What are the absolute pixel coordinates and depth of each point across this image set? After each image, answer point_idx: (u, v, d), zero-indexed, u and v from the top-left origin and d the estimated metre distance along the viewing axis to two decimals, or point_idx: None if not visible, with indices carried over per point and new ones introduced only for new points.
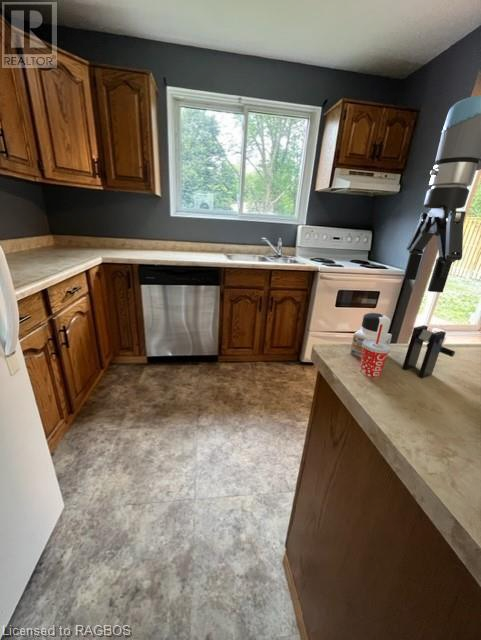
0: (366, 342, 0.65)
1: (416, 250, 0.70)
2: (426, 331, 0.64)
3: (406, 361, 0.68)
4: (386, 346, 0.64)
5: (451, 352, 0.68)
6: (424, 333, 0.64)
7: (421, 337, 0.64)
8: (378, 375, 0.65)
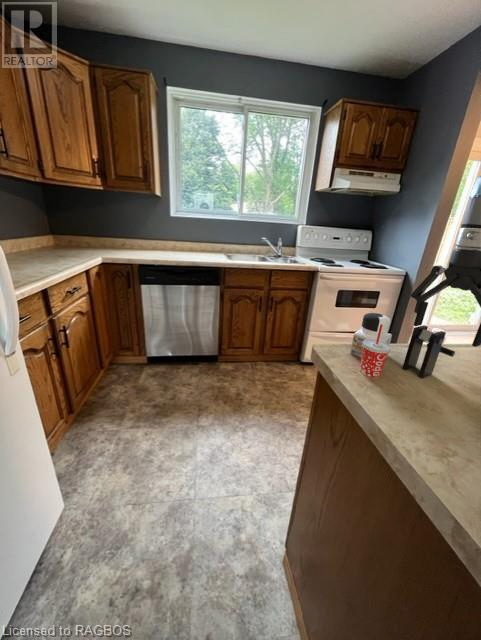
0: (366, 342, 0.65)
1: (423, 298, 0.72)
2: (426, 331, 0.64)
3: (406, 361, 0.68)
4: (386, 346, 0.64)
5: (451, 352, 0.68)
6: (424, 333, 0.64)
7: (421, 337, 0.64)
8: (378, 375, 0.65)
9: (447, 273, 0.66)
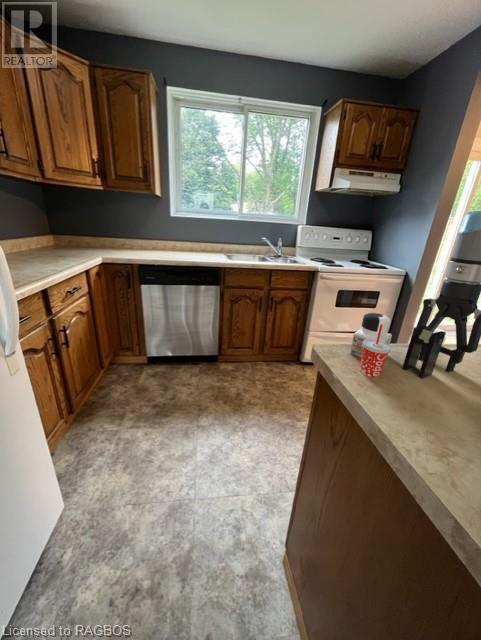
0: (366, 342, 0.65)
1: None
2: (426, 331, 0.64)
3: (406, 361, 0.68)
4: (386, 346, 0.64)
5: (451, 352, 0.68)
6: (424, 333, 0.64)
7: (421, 337, 0.64)
8: (378, 375, 0.65)
9: (439, 303, 0.68)
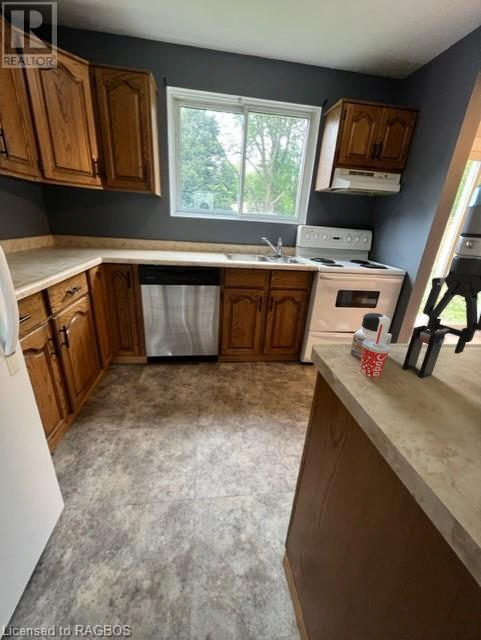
0: (366, 342, 0.65)
1: (436, 315, 0.71)
2: (424, 334, 0.64)
3: (406, 361, 0.68)
4: (386, 346, 0.64)
5: None
6: (422, 336, 0.64)
7: (421, 340, 0.65)
8: (378, 375, 0.65)
9: (448, 280, 0.67)
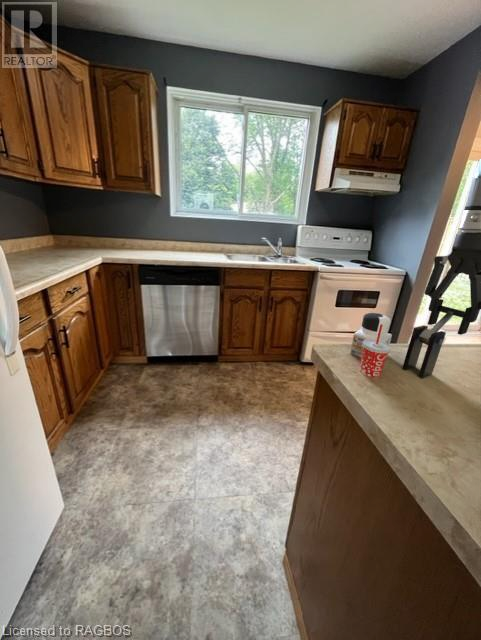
0: (366, 342, 0.65)
1: (438, 295, 0.69)
2: (422, 337, 0.64)
3: (406, 361, 0.68)
4: (386, 346, 0.64)
5: None
6: (422, 339, 0.64)
7: (422, 342, 0.65)
8: (378, 375, 0.65)
9: (451, 258, 0.64)
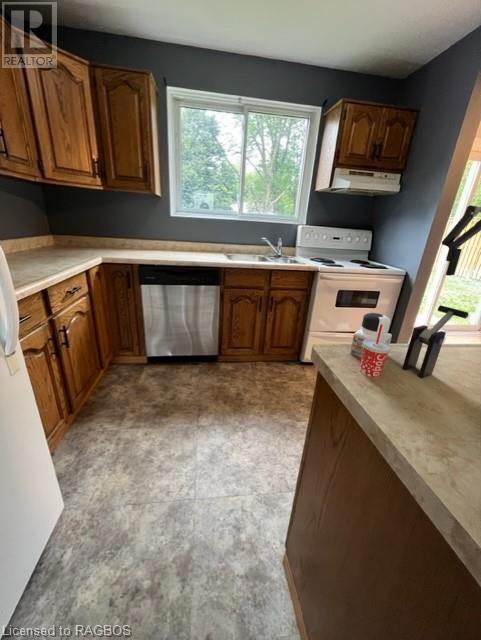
0: (366, 342, 0.65)
1: None
2: (422, 337, 0.64)
3: (406, 361, 0.68)
4: (386, 346, 0.64)
5: (463, 316, 0.64)
6: (422, 339, 0.64)
7: (422, 342, 0.65)
8: (378, 375, 0.65)
9: None
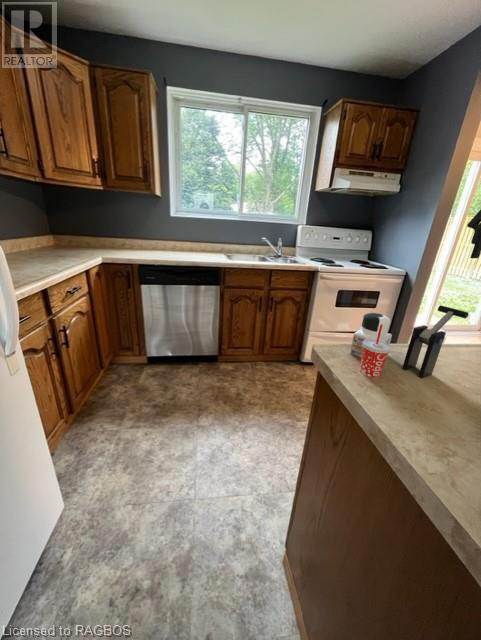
0: (366, 342, 0.65)
1: None
2: (422, 337, 0.64)
3: (406, 361, 0.68)
4: (386, 346, 0.64)
5: (463, 316, 0.64)
6: (422, 339, 0.64)
7: (422, 342, 0.65)
8: (378, 375, 0.65)
9: None
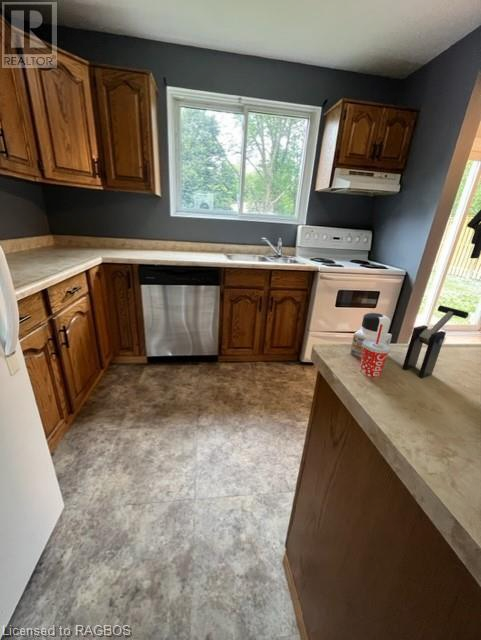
0: (366, 342, 0.65)
1: None
2: (422, 337, 0.64)
3: (406, 361, 0.68)
4: (386, 346, 0.64)
5: (463, 316, 0.64)
6: (422, 339, 0.64)
7: (422, 342, 0.65)
8: (378, 375, 0.65)
9: None
